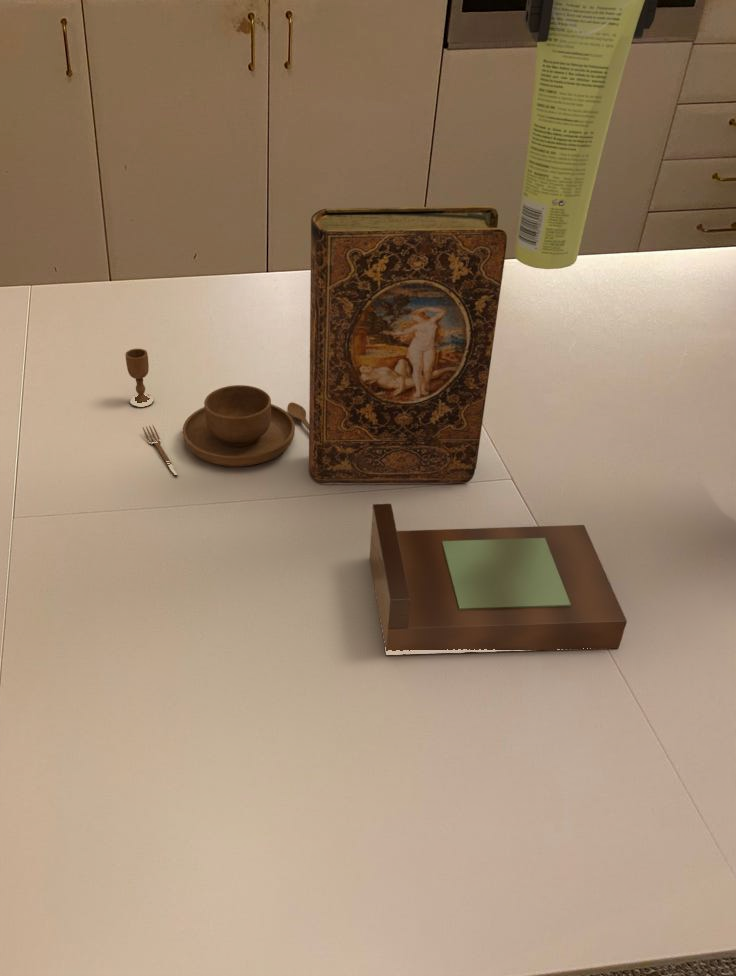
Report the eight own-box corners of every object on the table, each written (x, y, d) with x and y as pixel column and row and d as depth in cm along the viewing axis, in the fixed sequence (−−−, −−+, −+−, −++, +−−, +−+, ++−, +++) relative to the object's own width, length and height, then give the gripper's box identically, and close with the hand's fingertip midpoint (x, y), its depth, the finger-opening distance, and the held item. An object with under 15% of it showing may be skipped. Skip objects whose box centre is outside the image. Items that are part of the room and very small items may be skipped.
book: (308, 484, 99) (311, 232, 82) (308, 455, 103) (311, 208, 86) (473, 484, 98) (510, 229, 81) (467, 454, 102) (500, 205, 85)
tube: (569, 244, 81) (619, -41, 68) (595, 267, 78) (653, -28, 64) (503, 251, 81) (541, -34, 68) (526, 275, 77) (571, -22, 64)
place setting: (177, 489, 99) (172, 438, 95) (122, 399, 113) (115, 351, 109) (335, 451, 103) (336, 400, 99) (263, 369, 117) (262, 321, 113)
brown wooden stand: (577, 551, 90) (591, 496, 86) (618, 648, 80) (635, 592, 76) (369, 558, 90) (372, 503, 86) (385, 656, 80) (390, 600, 76)
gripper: (531, -291, 55) (491, 55, 66) (793, -302, 54) (708, 47, 66) (506, -288, 60) (473, 30, 71) (743, -298, 60) (672, 23, 71)
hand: (586, 37), depth 69 cm, fingers closed on tube, 6 cm apart
